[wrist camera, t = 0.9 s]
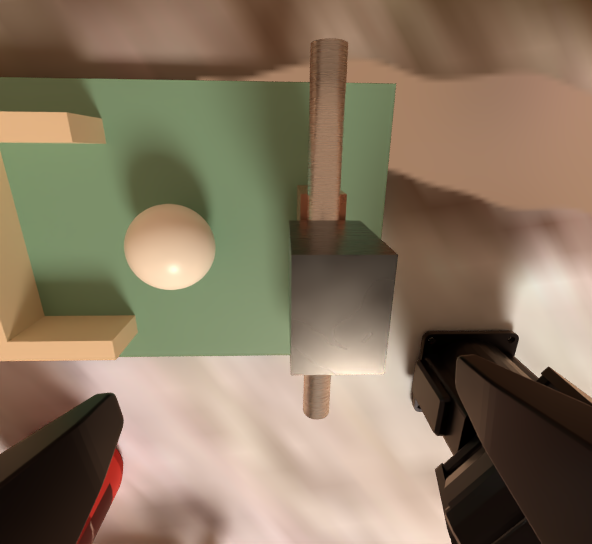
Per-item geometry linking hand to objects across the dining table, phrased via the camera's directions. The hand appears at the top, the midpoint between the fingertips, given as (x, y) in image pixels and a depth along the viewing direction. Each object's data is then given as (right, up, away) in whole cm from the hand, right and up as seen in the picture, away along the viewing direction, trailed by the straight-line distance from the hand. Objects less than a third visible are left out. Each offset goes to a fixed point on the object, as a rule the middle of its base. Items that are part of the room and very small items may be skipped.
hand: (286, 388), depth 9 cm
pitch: (-6, +5, +12) cm, 14 cm away
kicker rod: (+1, +5, +10) cm, 12 cm away
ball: (-6, +4, +9) cm, 11 cm away
